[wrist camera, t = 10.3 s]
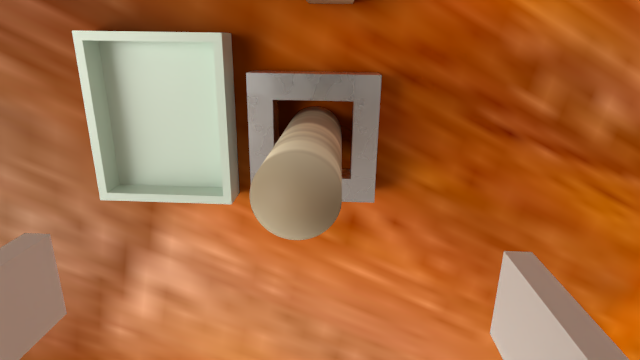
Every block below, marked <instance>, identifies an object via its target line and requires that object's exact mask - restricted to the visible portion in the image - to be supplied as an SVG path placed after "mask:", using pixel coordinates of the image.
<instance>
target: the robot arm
mask: <svg viewBox="0 0 640 360" xmlns="http://www.w3.org/2000/svg"><path fill="white" fill-rule="evenodd" d="M66 314H67V313H66V308H65V303H64V298H63V294H62V289H61V284H60V279H59V275H58V270H57V265H56V260H55V256H54V251H53V246H52V241H51V237H50V234H34V233H24V234H23V235H21V236H19V237H18V238H16V239H14V240H13V241H11V242H9V243H7V244H6V245H4V246H2V247H1V248H0V360H19V359H20V358H21V357H22V356H23V355H24V354H25V353H26V352H27V351H29V350H30V349H31V348H32V347H33V346H34V345H35V344H36V343H37V342H38V341H39V340H40V339H41V338H42V337H43V336H44V335H45V334H46V333H47V332H48V331H49V330H50V329H51V328H52V327H53V326H54V325H55V324H56V323H57V322H58V321H59V320H60V319H61V318H62V317H64V316H65V315H66ZM490 334H491V336H492V338H493V340H494V342H495V344H496V346H497V348H498V350H499V352H500V354H501V356H502V358H503V360H629V359H628V358H627V357H626V356H625V354H624V353H623V352H622V351H621V350H620V349H619V348H618V347H617V346H616V345H615V343H614V342H613V341H612V340H611V339H610V338H609V337H608V336H607V335H606V333H605V332H604V331H603V330H602V329H601V328H600V327H599V326H598V325H597V324H596V322H595V321H594V320H593V319H592V318H591V317H590V316H589V315H588V314H587V312H586V311H585V310H584V309H583V308H582V307H581V306H580V305H579V304H578V302H577V301H576V300H575V299H574V298H573V297H572V296H571V295H570V294H569V293H568V291H567V290H566V289H565V288H564V287H563V286H562V285H561V284H560V283H559V281H558V280H557V279H556V278H555V277H554V276H553V275H552V274H551V273H550V272H549V270H548V269H547V268H546V267H545V266H544V265H543V264H542V263H541V262H540V260H539V259H538V258H537V257H536V256H535V255H534V254H533V253H532V252H514V251H504V254H503V260H502V266H501V271H500V277H499V283H498V289H497V295H496V301H495V307H494V312H493V318H492V324H491V330H490Z"/></svg>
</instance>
